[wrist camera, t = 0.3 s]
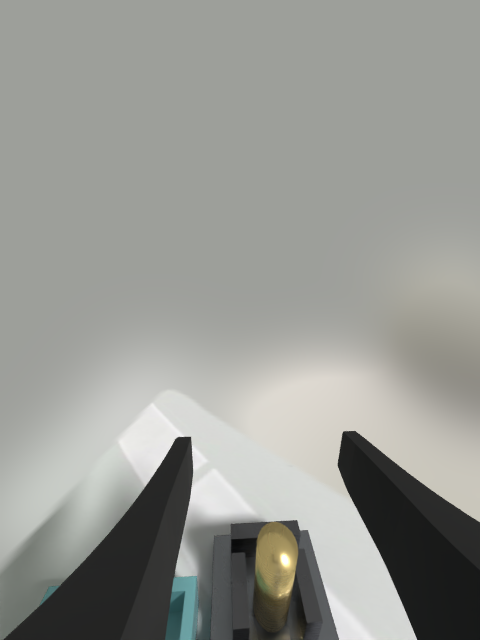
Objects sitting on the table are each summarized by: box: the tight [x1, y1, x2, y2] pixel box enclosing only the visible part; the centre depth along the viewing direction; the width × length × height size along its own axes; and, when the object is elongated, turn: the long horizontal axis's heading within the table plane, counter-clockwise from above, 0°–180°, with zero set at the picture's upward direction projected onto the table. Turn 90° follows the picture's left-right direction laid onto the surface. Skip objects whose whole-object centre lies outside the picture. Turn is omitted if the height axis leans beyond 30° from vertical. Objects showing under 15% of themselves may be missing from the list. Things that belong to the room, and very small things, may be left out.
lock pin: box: [253, 522, 298, 633], centre depth 18 cm, size 3×3×8 cm
